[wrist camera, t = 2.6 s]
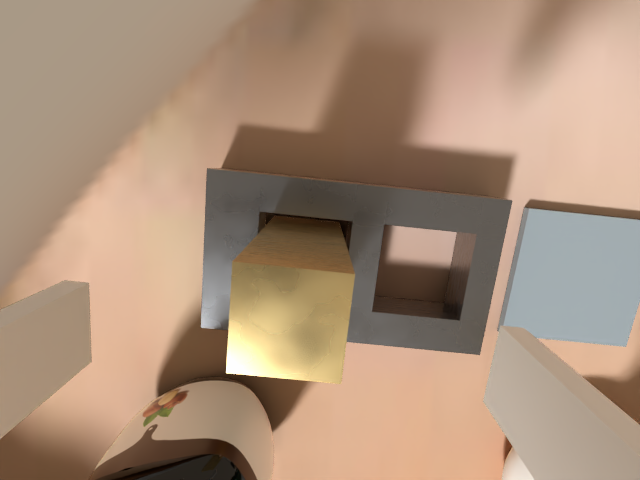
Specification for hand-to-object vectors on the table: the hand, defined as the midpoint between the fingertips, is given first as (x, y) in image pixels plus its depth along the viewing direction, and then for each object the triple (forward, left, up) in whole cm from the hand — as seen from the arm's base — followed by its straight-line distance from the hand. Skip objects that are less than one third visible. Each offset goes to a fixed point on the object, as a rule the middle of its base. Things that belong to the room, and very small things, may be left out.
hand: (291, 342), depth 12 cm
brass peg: (0, 0, -14) cm, 14 cm away
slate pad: (+19, 0, -14) cm, 23 cm away
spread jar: (-6, -16, -14) cm, 22 cm away
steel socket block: (+3, 0, -14) cm, 14 cm away
